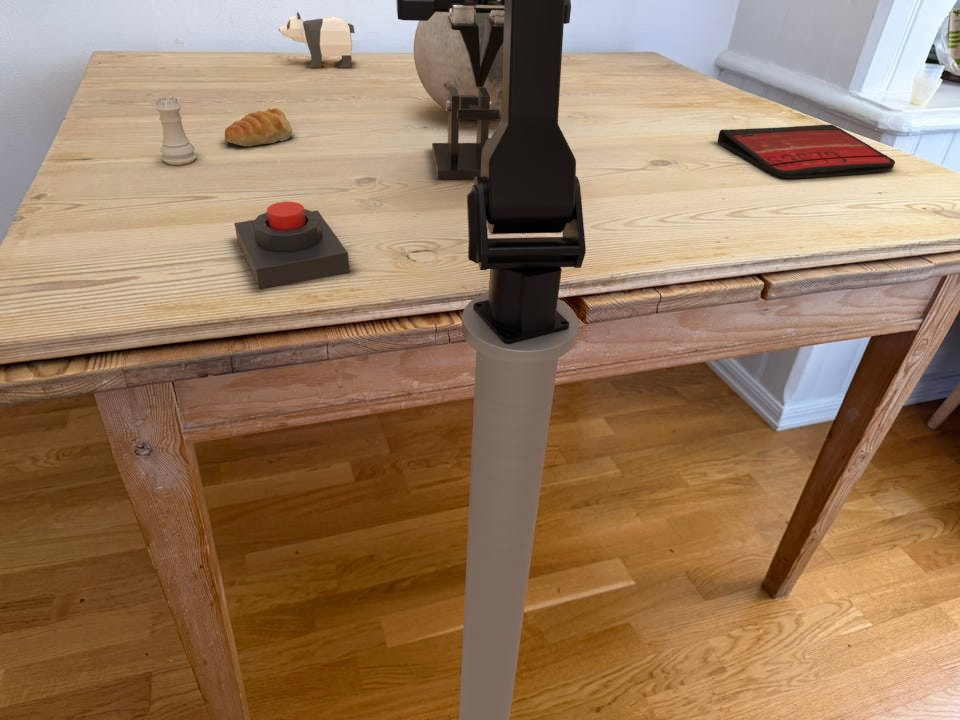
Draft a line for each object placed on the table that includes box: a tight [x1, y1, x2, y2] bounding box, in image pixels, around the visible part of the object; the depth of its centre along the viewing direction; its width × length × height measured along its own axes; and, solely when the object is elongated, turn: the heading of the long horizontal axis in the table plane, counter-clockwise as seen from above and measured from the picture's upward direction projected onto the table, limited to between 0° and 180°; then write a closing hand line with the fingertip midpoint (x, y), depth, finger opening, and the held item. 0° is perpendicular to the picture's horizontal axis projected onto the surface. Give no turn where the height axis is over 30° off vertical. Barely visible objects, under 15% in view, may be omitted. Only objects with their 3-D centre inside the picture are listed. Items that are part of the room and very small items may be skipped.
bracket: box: [431, 87, 492, 180], centre depth 92 cm, size 11×9×10 cm
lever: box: [457, 95, 501, 121], centre depth 86 cm, size 12×5×2 cm, turn 7°
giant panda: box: [278, 11, 356, 69], centre depth 134 cm, size 15×6×10 cm, turn 100°
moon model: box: [413, 3, 504, 115], centre depth 107 cm, size 20×20×20 cm
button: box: [266, 201, 306, 230], centre depth 68 cm, size 4×4×2 cm
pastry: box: [224, 107, 293, 148], centre depth 98 cm, size 9×7×4 cm
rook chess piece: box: [154, 95, 197, 166], centre depth 89 cm, size 4×4×8 cm
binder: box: [717, 124, 896, 179], centre depth 103 cm, size 16×2×21 cm
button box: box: [233, 208, 351, 290], centre depth 70 cm, size 11×9×4 cm
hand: (479, 86), depth 79 cm, fingers closed
